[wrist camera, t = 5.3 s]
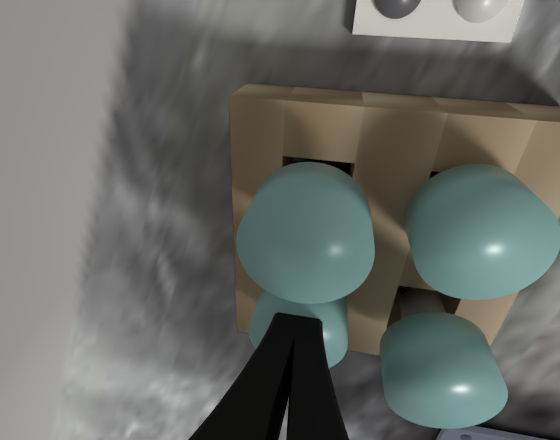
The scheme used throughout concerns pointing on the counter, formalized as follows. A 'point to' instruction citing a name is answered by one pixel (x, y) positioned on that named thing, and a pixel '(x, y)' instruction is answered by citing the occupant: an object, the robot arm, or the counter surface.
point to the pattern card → (439, 19)
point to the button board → (387, 176)
